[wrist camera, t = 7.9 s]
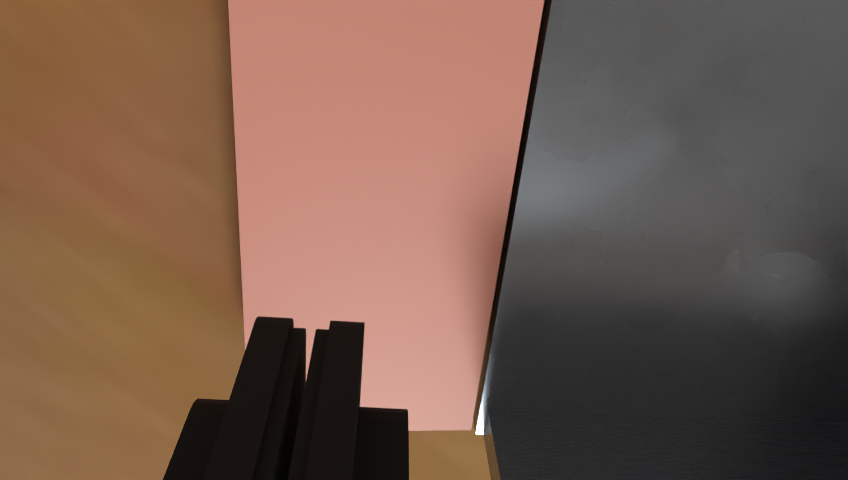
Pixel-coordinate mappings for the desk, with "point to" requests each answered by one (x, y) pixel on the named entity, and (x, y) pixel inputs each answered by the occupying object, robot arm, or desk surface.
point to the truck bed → (676, 248)
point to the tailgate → (381, 179)
